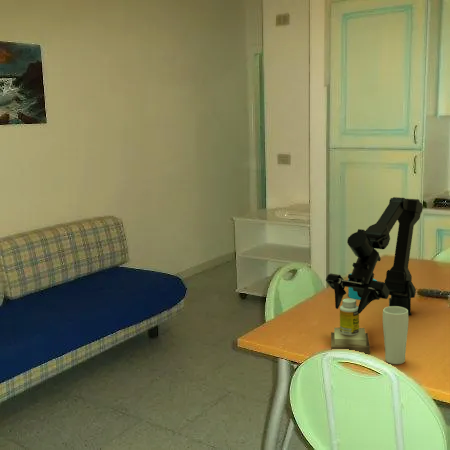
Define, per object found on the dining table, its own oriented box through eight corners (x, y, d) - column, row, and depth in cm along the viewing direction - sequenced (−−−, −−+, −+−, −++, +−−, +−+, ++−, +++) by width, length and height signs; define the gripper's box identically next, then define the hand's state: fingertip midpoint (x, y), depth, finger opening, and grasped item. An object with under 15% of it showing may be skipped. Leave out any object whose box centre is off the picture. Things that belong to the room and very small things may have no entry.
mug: (346, 298, 218) (345, 277, 217) (351, 292, 225) (351, 271, 224) (378, 301, 213) (378, 280, 211) (382, 294, 220) (383, 274, 219)
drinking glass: (379, 357, 166) (379, 306, 163) (402, 355, 167) (402, 305, 164) (387, 367, 160) (387, 315, 157) (411, 365, 160) (412, 313, 157)
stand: (367, 339, 179) (367, 326, 179) (370, 353, 169) (370, 340, 168) (331, 338, 181) (331, 326, 181) (331, 353, 171) (331, 340, 170)
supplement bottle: (354, 337, 171) (354, 304, 169) (337, 334, 174) (336, 301, 172) (361, 331, 175) (361, 298, 173) (344, 328, 178) (344, 296, 176)
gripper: (402, 283, 177) (385, 329, 171) (347, 274, 189) (329, 317, 183) (390, 264, 170) (373, 311, 164) (334, 256, 182) (315, 300, 176)
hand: (347, 310), depth 172 cm, fingers open, 7 cm apart
